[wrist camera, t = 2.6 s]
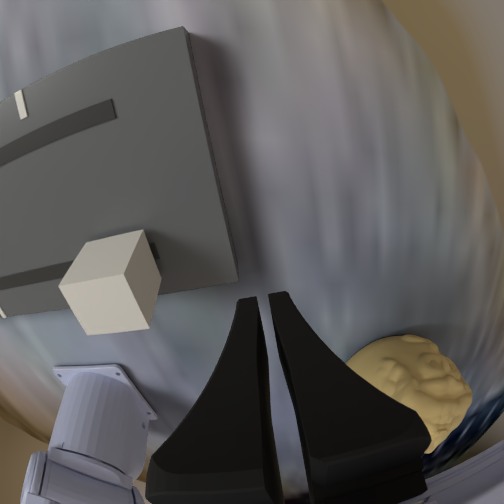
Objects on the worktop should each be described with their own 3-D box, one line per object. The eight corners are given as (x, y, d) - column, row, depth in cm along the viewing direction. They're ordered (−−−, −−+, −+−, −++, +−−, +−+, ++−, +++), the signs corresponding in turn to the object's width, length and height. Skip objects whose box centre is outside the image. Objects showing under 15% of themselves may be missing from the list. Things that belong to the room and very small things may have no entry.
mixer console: (237, 262, 20) (238, 282, 18) (-37, 309, 21) (-46, 323, 19) (188, 31, 13) (182, 26, 11) (-96, 184, 13) (-110, 193, 12)
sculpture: (452, 327, 26) (502, 410, 17) (380, 399, 32) (408, 478, 23) (375, 300, 23) (434, 416, 14) (298, 389, 29) (319, 490, 19)
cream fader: (162, 276, 18) (149, 328, 14) (108, 285, 18) (87, 335, 14) (144, 227, 16) (123, 274, 12) (87, 240, 16) (58, 286, 13)
